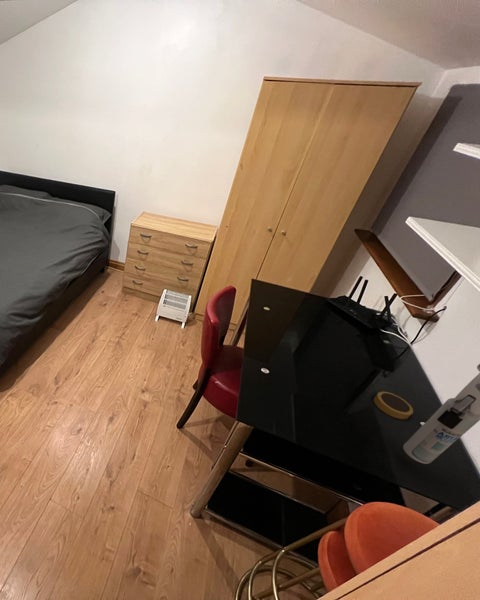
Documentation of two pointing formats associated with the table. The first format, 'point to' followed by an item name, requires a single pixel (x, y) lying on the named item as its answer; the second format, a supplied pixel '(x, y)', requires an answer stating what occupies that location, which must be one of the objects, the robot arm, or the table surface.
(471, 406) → the robot arm
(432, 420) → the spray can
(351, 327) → the table surface
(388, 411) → the stand
